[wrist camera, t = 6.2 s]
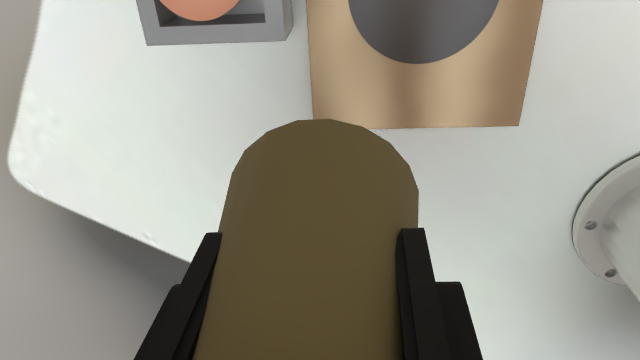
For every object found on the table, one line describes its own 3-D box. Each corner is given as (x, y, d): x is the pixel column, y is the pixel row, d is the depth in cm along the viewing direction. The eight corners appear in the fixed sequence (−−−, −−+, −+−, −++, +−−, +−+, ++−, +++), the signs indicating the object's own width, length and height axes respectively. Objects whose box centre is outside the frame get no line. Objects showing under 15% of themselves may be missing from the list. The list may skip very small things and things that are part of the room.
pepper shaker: (189, 176, 14) (-187, 734, 4) (357, 79, 12) (350, 714, 2) (296, 300, 16) (207, 839, 7) (451, 237, 14) (639, 873, 5)
